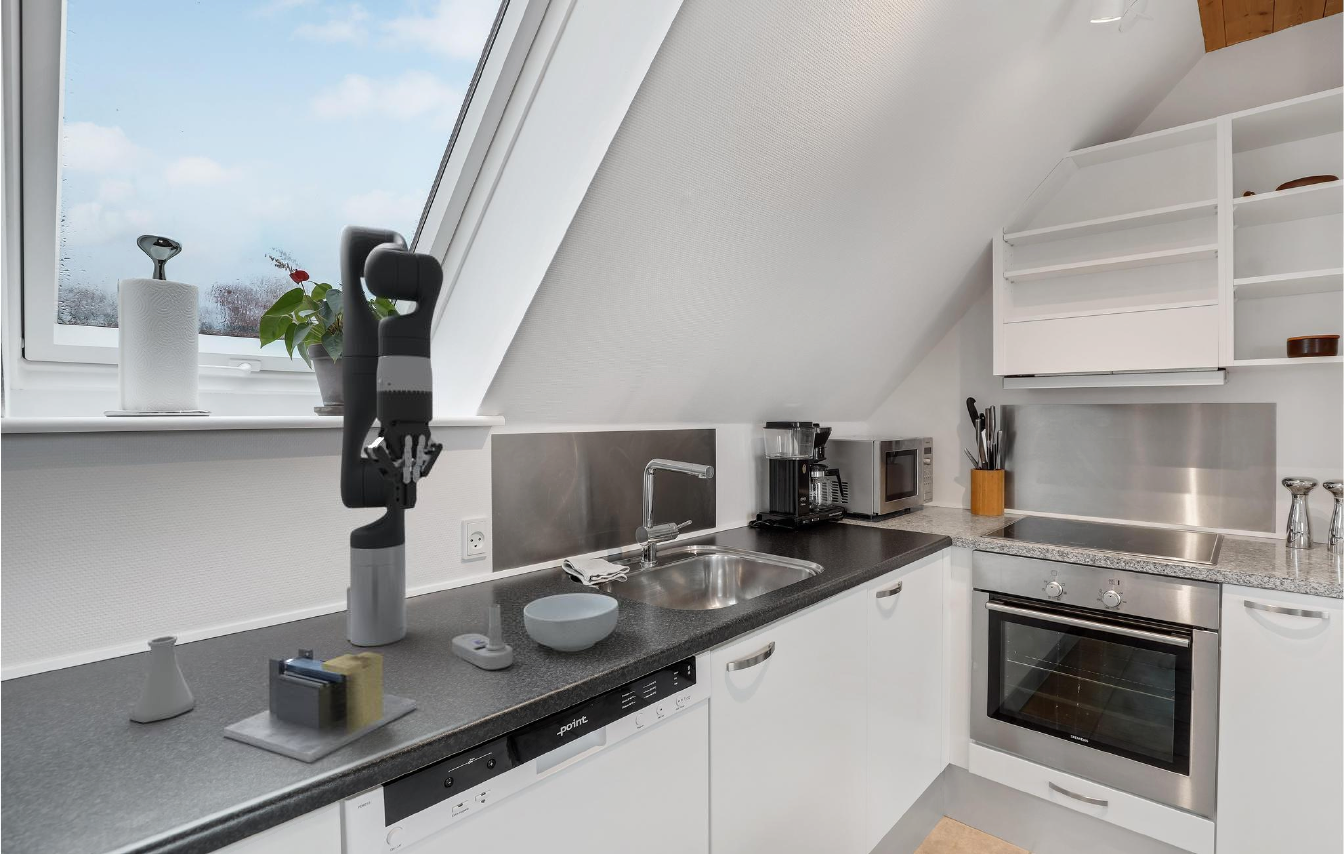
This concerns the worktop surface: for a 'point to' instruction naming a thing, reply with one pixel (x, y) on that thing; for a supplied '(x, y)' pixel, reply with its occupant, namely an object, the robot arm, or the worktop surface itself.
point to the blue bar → (311, 669)
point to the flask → (162, 685)
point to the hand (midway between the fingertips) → (405, 508)
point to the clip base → (309, 737)
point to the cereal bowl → (571, 620)
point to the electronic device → (485, 645)
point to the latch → (361, 685)
